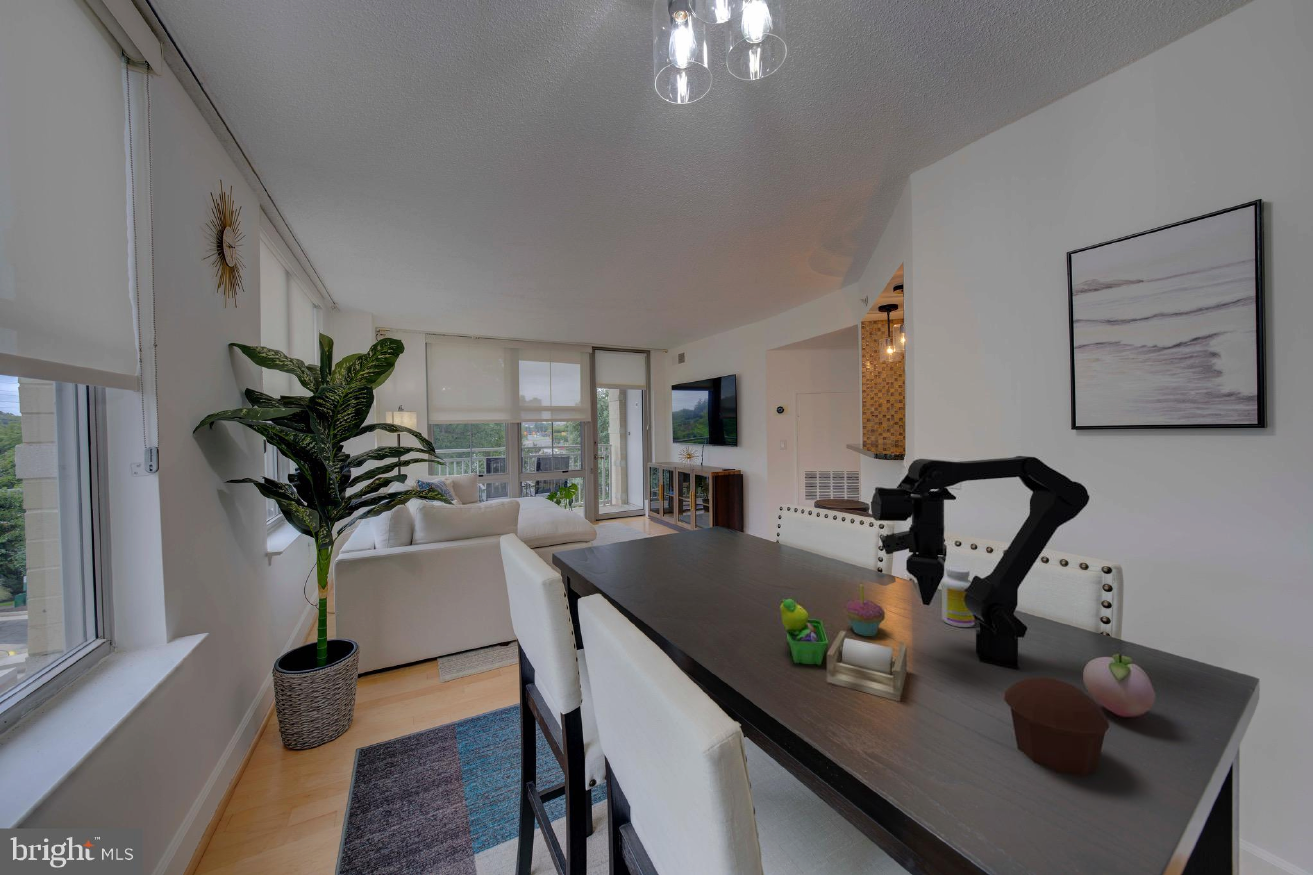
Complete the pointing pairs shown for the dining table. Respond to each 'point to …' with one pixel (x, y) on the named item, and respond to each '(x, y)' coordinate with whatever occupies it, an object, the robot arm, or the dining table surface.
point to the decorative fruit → (1119, 685)
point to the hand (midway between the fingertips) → (927, 597)
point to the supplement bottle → (956, 597)
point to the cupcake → (864, 615)
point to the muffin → (1057, 724)
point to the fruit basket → (803, 634)
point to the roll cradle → (866, 673)
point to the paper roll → (867, 656)
